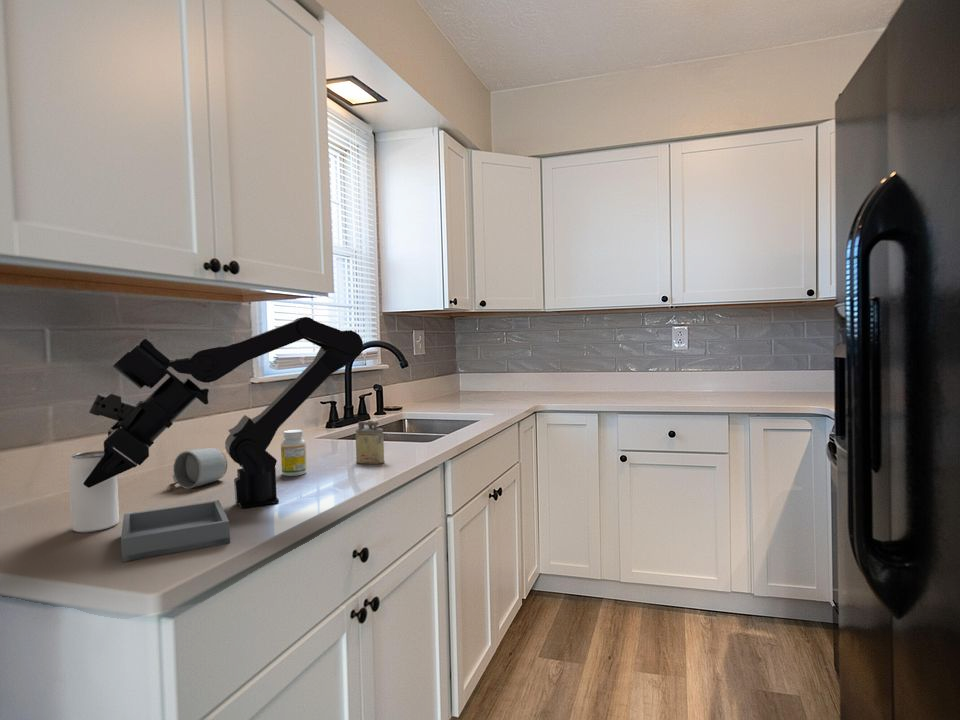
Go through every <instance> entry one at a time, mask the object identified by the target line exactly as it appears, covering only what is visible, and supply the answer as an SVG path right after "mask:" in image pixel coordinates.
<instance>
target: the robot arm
mask: <svg viewBox="0 0 960 720" xmlns="http://www.w3.org/2000/svg"><path fill="white" fill-rule="evenodd" d="M302 340H305V341H307V342H309V343H311V344H313V345H315V346H318V347H320V348H319V350H318V351H317V353H316V356H315V357H314V359H313V361H311V363H310V364H309V365H308V366H307V367H306V368H305V369H304V370H303V371H302V372H300V374H299V375H298V376H297V377H296V378H295V379H294V380H293V381H292V382H291V383H290V384H289V385H288V386H287V387H286V388H285V389H284V390H283V391H282V392H281V393H280V394H279V395H277V396H276V398H275V399H273V401H272V402H271V403H270V404H268V405H267V407H266V408H265V409H264V410H262V412H261V413H260V414H258V415H256V416H255V417H252V418H251V417H249V416H247V415H246V414H244V415H243V416H242V417H241V418H240V420H239V421H238V423H237V424H236V425H235V426H234V427H231V428H230V429H228V432H229V433H230V434H228V436H227V437H226V439H225V441H224V442H225V443H224V445H225V446H224V448H225V451H226V453H227V455H229V457H230V458H231V460H232V461H233V463H236V464H238V465H239V466H240V467H241V468H237V472H236V473H237V475H236V477H234V480H233V482H234V500H235V502H236V503H237V504H238V505H239V506H240V508H242V509H245V508H251V507H257V506H263V505H271V504H277V503H280V499H279V498H278V497H277V473H276V471H277V470H276V465H277V461H278V460H277V459H276V458H275V456H273V455H271V454H270V452H268V451H267V449H268V447H269V446H270V444H271V442H272V440H273V439H274V437H275V435H276V433H277V431H278V429H279V428H281V426H282V425H283V424H284V423H285V422H286V421H287V420H288V419H289V418H290V417H291V416H292V415H293V414H294V413H295V412H296V411H297V409H299V408H300V406H301V405H302V404H303V403H305V401H306V400H307V399H309V397H311V396H312V394H313V393H315V391H316V390H317V389H318V388H319V387H320V386H321V385H322V384H324V382H325V381H326V380H327V379H328V378H329V377H330V376H331V375H332V374H334V373H335V372H337V371H339V370H340V369H342V368H344V367H346V366H347V365H349V364H350V363H351V362H353V361H354V360H356V359H357V358H358V357H359V356H360V355H361V354H362V353H363V351H364V341H363V339H362V337H361V336H360V334H359V333H357V331H354V330H340V329H337V328H335V327H333V326H331V325H328V324H324V323H321V322H318V321H316V320H314V319H313V318H311V317H309V316H304V317H298V318H295V319H294V320H293V321H291V322H288V323H286V324H283V325H280V326H277V327H276V328H272V329H270V330H267V331H265V332H262V333H261V332H260V333H259V334H256V335H254V336H251V337H249V338H246V339H243V340H240V341H238V342H234V343H228V344H224V345H219V346H212V347H208V348H203V349H199V350H196V351H193V353H191V354H190V355H189V357H185V358H177V357H175V358H174V359H172V360H171V359H170V358H168V357H167V356H166V355H165V354H163V353H162V352H161V351H159V350H158V348H156V347H155V345H154V344H152V342H151V341H150V340H148V339H147V338H144V339H142V340H141V341H140V343H137V345H136V346H135V347H134V348H133V349H131V350H129V351H128V352H126V353H125V354H124V355H123V356H122V357H121V358H120V359H119V360H117V361H116V363H114V364H113V365H112V366H111V367H112V368H113V369H114V370H116V372H117V373H119V374H121V376H123V377H124V378H125V379H127V380H128V381H130V382H131V383H132V384H133V385H135V386H136V387H137V388H138V389H140V390H141V389H142V388H144V387H147V388H148V389H150V390H152V388H154V387H155V386H156V385H158V383H159V382H160V381H161V380H163V378H164V377H165V376H166V375H168V376H169V377H167V378H166V379H165V380H164V381H163V382H162V383H161V384H160V385H159V386H158V387H157V388H156V389H155V390H154V391H153V392H152V393H151V394H149V396H148V397H147V398H145V399H141V400H140V401H138V403H137V404H134V403H131V402H128V401H126V400H124V399H122V396H121V395H115V394H114V393H112V392H111V393H110V394H109V395H108V394H104V393H101V392H99V393H97V395H96V397H95V399H94V401H93V403H92V405H91V407H90V409H89V411H88V413H89V414H92V415H94V416H97V417H99V416H102V417H105V418H108V419H111V420H115V421H116V422H114V423H113V424H112V425H111V426H110V429H108V431H107V437H106V438H105V439H104V441H103V451H104V455H103V457H102V458H101V460H100V461H99V462H98V464H97V465H96V466H95V468H94V469H93V470H92V472H91V473H90V475H89V476H88V477H87V479H86V480H85V481H84V483H83V484H84V485H85V486H86V487H88V488H90V487H92V486H94V485H96V484H98V483H101V482H103V481H105V480H107V479H109V478H111V477H114V476H116V475H117V476H119V475H120V474H122V473H125V472H127V471H129V470H131V469H134V468H136V467H137V466H141V465H142V464H143V463H144V462H145V461H146V460H147V459H148V458H149V457H150V447H151V446H152V445H153V444H154V443H155V441H156V439H157V438H158V437H159V436H160V435H161V434H163V432H164V431H165V430H167V429H169V428H171V426H173V423H174V421H176V419H177V418H178V417H180V415H182V413H184V411H186V409H188V408H189V407H190V406H191V405H192V403H193V402H194V401H196V400H199V401H200V402H201V403H202V404H203V405H208V404H209V398H208V397H209V392H210V390H209V388H208V387H207V388H206V387H205V388H200V387H199V385H197V384H196V383H195V382H194V381H192V380H191V379H190V378H186V379H184V380H183V381H182V380H180V379H179V378H178V377H177V376H175V374H173V373H172V372H171V371H170V370H168V369H169V368H171V369H173V370H174V371H176V372H177V373H179V374H184V375H190V376H191V377H192V378H194V379H195V380H196V381H198V382H201V383H204V384H207V383H213V382H216V381H218V380H220V379H221V378H223V377H224V376H226V375H228V374H229V373H231V372H233V371H234V370H235V369H237V368H238V367H240V366H241V365H243V364H244V363H246V362H248V361H250V360H253V359H256V358H259V357H261V356H263V355H265V354H269V353H271V352H273V351H275V350H279V349H281V348H284V347H286V346H288V345H291V344H294V343H296V342H298V341H302Z"/></svg>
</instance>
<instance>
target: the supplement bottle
mask: <svg viewBox="0 0 960 720" xmlns="http://www.w3.org/2000/svg"><path fill="white" fill-rule="evenodd" d="M283 438H284V440H283V441H281V443H280V458H281V459H280V460H281V462H280V463H281V474H282V475H283V476H285V477H294V476H301V475H304V474H306V473H307V471H308V470H307V468H308V467H307V443H306V440H304V439H303V430H301V429H289V430H284V431H283Z"/></svg>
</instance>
